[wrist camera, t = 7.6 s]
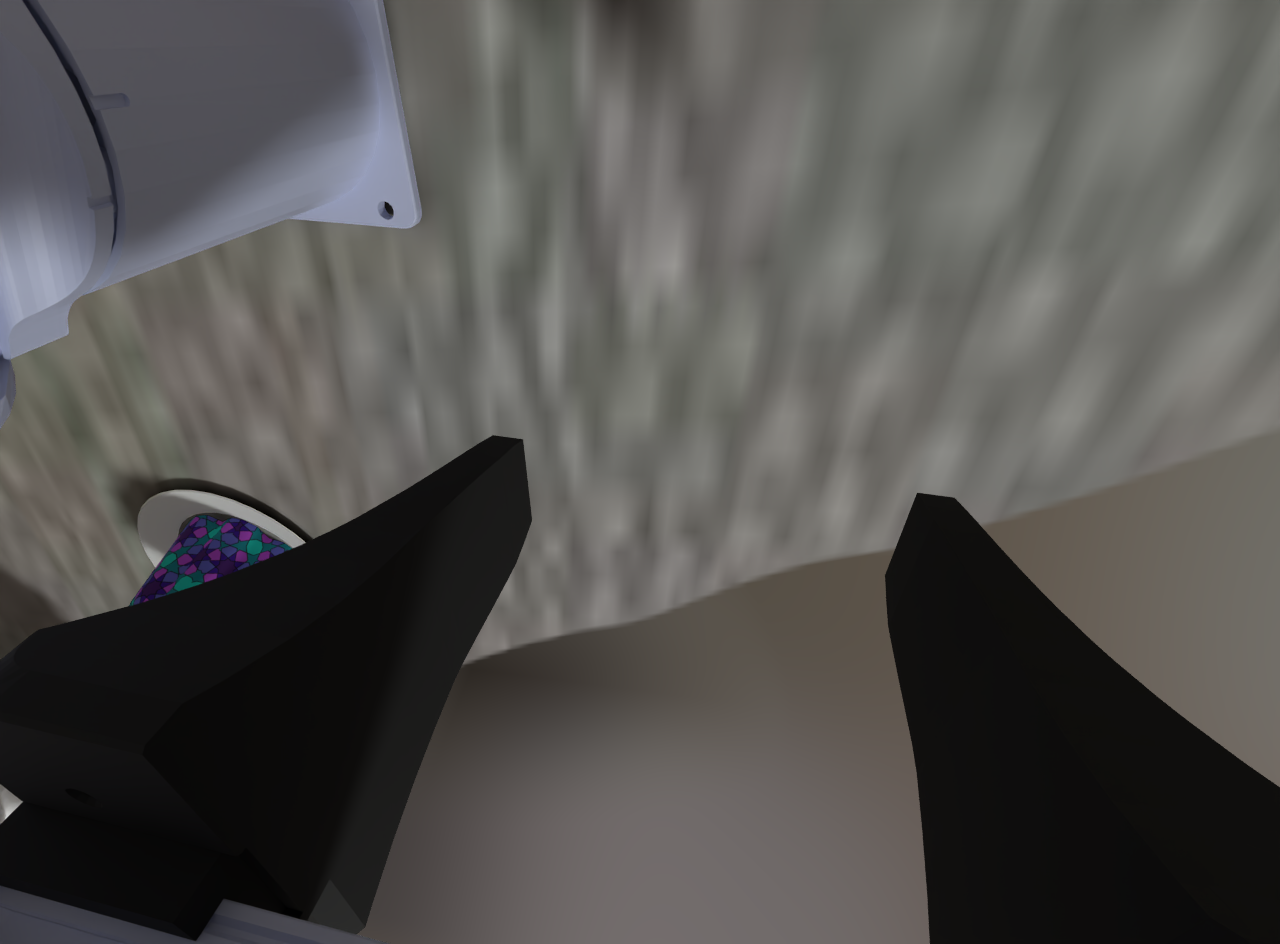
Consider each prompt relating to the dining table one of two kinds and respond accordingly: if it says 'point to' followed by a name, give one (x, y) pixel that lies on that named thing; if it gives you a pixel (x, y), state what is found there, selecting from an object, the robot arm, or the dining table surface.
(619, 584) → the dining table surface
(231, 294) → the dining table surface
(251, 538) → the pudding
